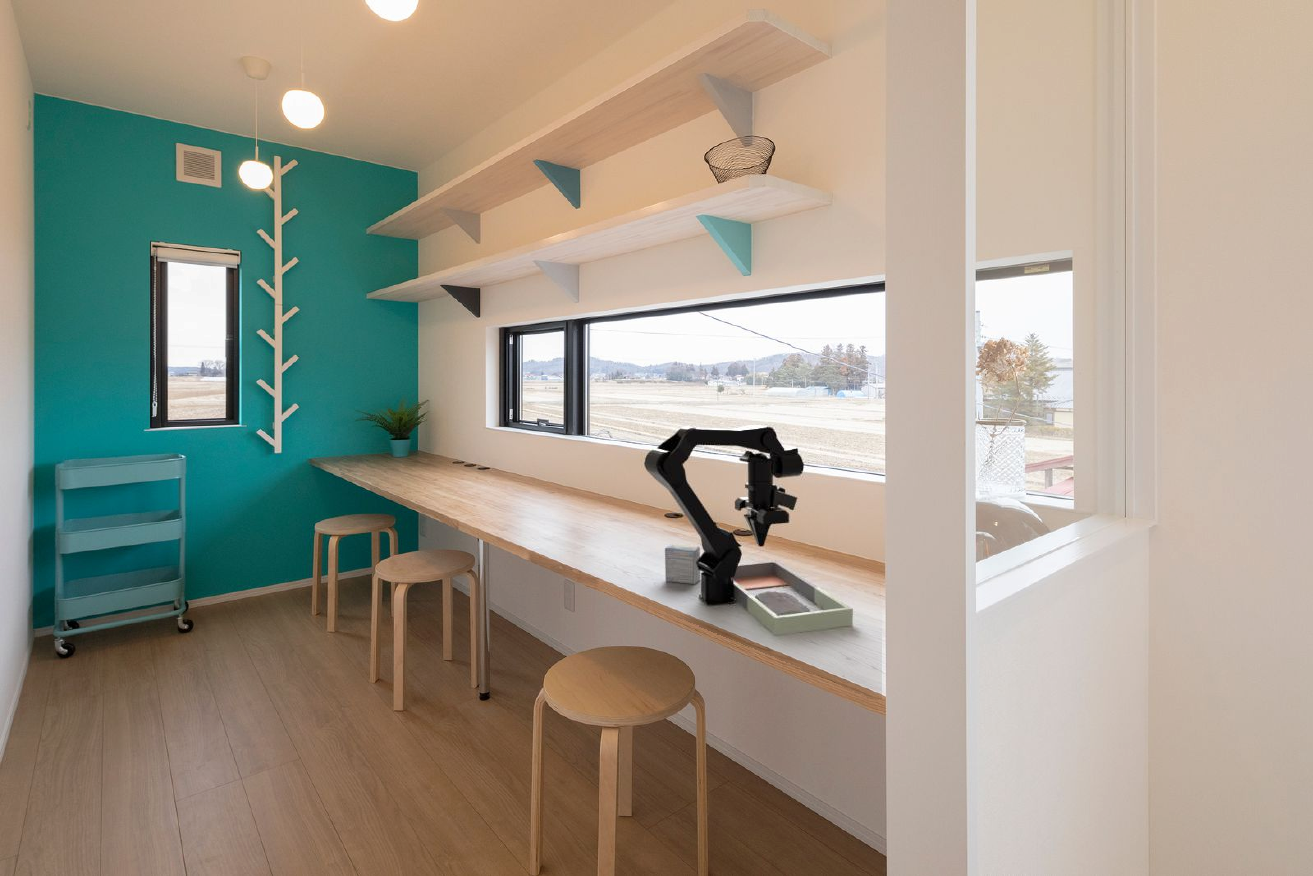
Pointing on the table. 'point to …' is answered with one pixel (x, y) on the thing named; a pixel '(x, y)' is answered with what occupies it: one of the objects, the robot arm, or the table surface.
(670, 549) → the medicine box
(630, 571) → the table surface
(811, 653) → the table surface
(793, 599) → the stone block
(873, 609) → the table surface
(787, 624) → the open tray box
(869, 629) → the table surface
